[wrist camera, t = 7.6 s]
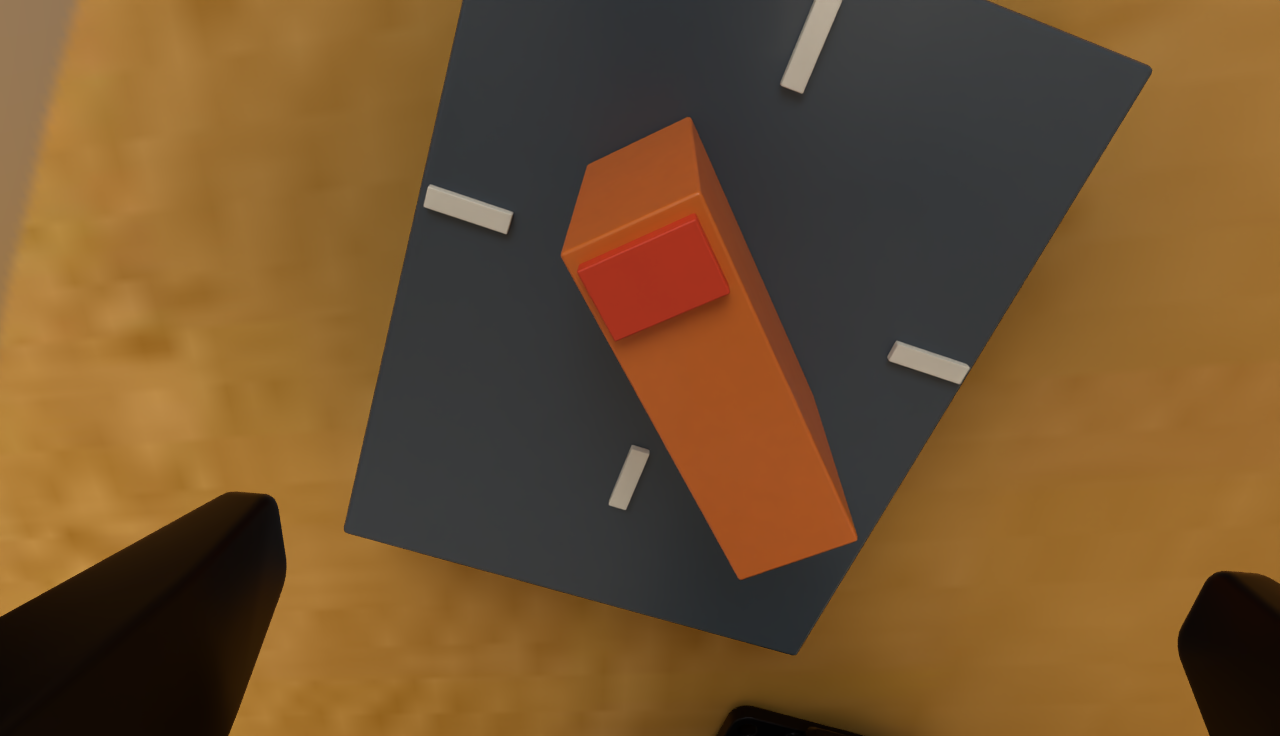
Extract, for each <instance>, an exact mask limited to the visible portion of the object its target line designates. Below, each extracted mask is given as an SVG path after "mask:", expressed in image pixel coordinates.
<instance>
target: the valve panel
mask: <svg viewBox="0 0 1280 736" xmlns="http://www.w3.org/2000/svg"><path fill="white" fill-rule="evenodd" d="M1151 73H1152V69H1151V67H1150V66H1149V65H1146V64H1144V63H1141V62H1139V61H1136V60H1134V59H1131V58H1129V57H1126V56H1124V55H1121V54H1119V53H1117V52H1114V51H1112V50H1109V49H1107V48H1104V47H1102V46H1099V45H1097V44H1094V43H1092V42H1089V41H1087V40H1084V39H1082V38H1079V37H1077V36H1074V35H1072V34H1069V33H1067V32H1064V31H1062V30H1059V29H1057V28H1054V27H1052V26H1049V25H1047V24H1044V23H1042V22H1039V21H1037V20H1034V19H1032V18H1030V17H1027V16H1025V15H1022V14H1020V13H1017V12H1015V11H1012V10H1010V9H1007V8H1005V7H1002V6H1000V5H997V4H995V3H992V2H990V1H987V0H463V1H462V6H461V10H460V15H459V19H458V23H457V28H456V32H455V37H454V41H453V46H452V50H451V55H450V59H449V63H448V68H447V72H446V77H445V81H444V86H443V90H442V94H441V99H440V103H439V108H438V112H437V117H436V121H435V126H434V130H433V134H432V139H431V143H430V148H429V152H428V157H427V161H426V165H425V170H424V174H423V179H422V183H421V188H420V192H419V197H418V201H417V205H416V210H415V214H414V219H413V223H412V228H411V232H410V236H409V241H408V245H407V250H406V254H405V259H404V263H403V268H402V272H401V276H400V281H399V285H398V290H397V294H396V299H395V303H394V307H393V312H392V316H391V321H390V325H389V330H388V334H387V339H386V343H385V347H384V352H383V356H382V361H381V365H380V370H379V374H378V378H377V383H376V387H375V392H374V396H373V401H372V405H371V410H370V414H369V418H368V423H367V427H366V432H365V436H364V441H363V445H362V449H361V454H360V458H359V463H358V467H357V472H356V476H355V481H354V485H353V489H352V494H351V498H350V503H349V507H348V512H347V516H346V521H345V525H344V531H345V532H346V533H349V534H352V535H356V536H360V537H363V538H367V539H370V540H374V541H378V542H381V543H385V544H389V545H392V546H396V547H400V548H403V549H407V550H411V551H414V552H418V553H422V554H425V555H429V556H433V557H436V558H440V559H443V560H447V561H451V562H454V563H458V564H462V565H465V566H469V567H473V568H476V569H480V570H484V571H487V572H491V573H495V574H498V575H502V576H505V577H509V578H513V579H516V580H520V581H524V582H527V583H531V584H535V585H538V586H542V587H546V588H549V589H553V590H557V591H560V592H564V593H567V594H571V595H575V596H578V597H582V598H586V599H589V600H593V601H597V602H600V603H604V604H608V605H611V606H615V607H619V608H622V609H626V610H630V611H633V612H637V613H640V614H644V615H648V616H651V617H655V618H659V619H662V620H666V621H670V622H673V623H677V624H681V625H684V626H688V627H692V628H695V629H699V630H702V631H706V632H710V633H713V634H717V635H721V636H724V637H728V638H732V639H735V640H739V641H743V642H746V643H750V644H754V645H757V646H761V647H764V648H768V649H772V650H775V651H779V652H783V653H786V654H790V655H796V654H797V653H798V651H799V650H800V648H801V646H802V645H803V643H804V642H805V640H806V638H807V637H808V635H809V633H810V632H811V630H812V628H813V627H814V625H815V624H816V622H817V620H818V619H819V617H820V615H821V614H822V612H823V610H824V609H825V607H826V606H827V604H828V602H829V601H830V599H831V597H832V596H833V594H834V592H835V591H836V589H837V588H838V586H839V584H840V583H841V581H842V579H843V578H844V576H845V574H846V573H847V571H848V570H849V568H850V566H851V565H852V563H853V561H854V560H855V558H856V556H857V555H858V553H859V552H860V550H861V548H862V547H863V545H864V543H865V542H866V540H867V538H868V537H869V535H870V533H871V532H872V530H873V529H874V527H875V525H876V524H877V522H878V520H879V519H880V517H881V515H882V514H883V512H884V511H885V509H886V507H887V506H888V504H889V502H890V501H891V499H892V497H893V496H894V494H895V493H896V491H897V489H898V488H899V486H900V484H901V483H902V481H903V479H904V478H905V476H906V475H907V473H908V471H909V470H910V468H911V466H912V465H913V463H914V461H915V460H916V458H917V457H918V455H919V453H920V452H921V450H922V448H923V447H924V445H925V443H926V442H927V440H928V439H929V437H930V435H931V434H932V432H933V430H934V429H935V427H936V425H937V424H938V422H939V421H940V419H941V417H942V416H943V414H944V412H945V411H946V409H947V407H948V406H949V404H950V403H951V401H952V399H953V398H954V396H955V394H956V393H957V391H958V389H959V388H960V386H961V385H962V383H963V381H964V380H965V378H966V376H967V375H968V373H969V371H970V370H971V368H972V366H973V365H974V363H975V362H976V360H977V358H978V357H979V355H980V353H981V352H982V350H983V348H984V347H985V345H986V344H987V342H988V340H989V339H990V337H991V335H992V334H993V332H994V330H995V329H996V327H997V326H998V324H999V322H1000V321H1001V319H1002V317H1003V316H1004V314H1005V312H1006V311H1007V309H1008V308H1009V306H1010V304H1011V303H1012V301H1013V299H1014V298H1015V296H1016V294H1017V293H1018V291H1019V290H1020V288H1021V286H1022V285H1023V283H1024V281H1025V280H1026V278H1027V276H1028V275H1029V273H1030V272H1031V270H1032V268H1033V267H1034V265H1035V263H1036V262H1037V260H1038V258H1039V257H1040V255H1041V254H1042V252H1043V250H1044V249H1045V247H1046V245H1047V244H1048V242H1049V240H1050V239H1051V237H1052V236H1053V234H1054V232H1055V231H1056V229H1057V227H1058V226H1059V224H1060V222H1061V221H1062V219H1063V218H1064V216H1065V214H1066V213H1067V211H1068V209H1069V208H1070V206H1071V204H1072V203H1073V201H1074V199H1075V198H1076V196H1077V195H1078V193H1079V191H1080V190H1081V188H1082V186H1083V185H1084V183H1085V181H1086V180H1087V178H1088V177H1089V175H1090V173H1091V172H1092V170H1093V168H1094V167H1095V165H1096V163H1097V162H1098V160H1099V159H1100V157H1101V155H1102V154H1103V152H1104V150H1105V149H1106V147H1107V145H1108V144H1109V142H1110V141H1111V139H1112V137H1113V136H1114V134H1115V132H1116V131H1117V129H1118V127H1119V126H1120V124H1121V123H1122V121H1123V119H1124V118H1125V116H1126V114H1127V113H1128V111H1129V109H1130V108H1131V106H1132V105H1133V103H1134V101H1135V100H1136V98H1137V96H1138V95H1139V93H1140V91H1141V90H1142V88H1143V87H1144V85H1145V83H1146V82H1147V80H1148V78H1149V77H1150V75H1151ZM686 117H690V118H691V119H692V121H693V123H694V125H695V128H696V130H697V132H698V134H699V137H700V139H701V141H702V144H703V146H704V148H705V150H706V153H707V155H708V157H709V160H710V162H711V164H712V166H713V169H714V171H715V173H716V175H717V178H718V180H719V182H720V185H721V187H722V189H723V191H724V194H725V196H726V198H727V200H728V203H729V205H730V207H731V210H732V212H733V214H734V216H735V219H736V221H737V223H738V225H739V228H740V230H741V232H742V235H743V237H744V239H745V241H746V244H747V246H748V248H749V250H750V253H751V255H752V257H753V260H754V262H755V264H756V266H757V269H758V271H759V273H760V275H761V278H762V280H763V282H764V285H765V287H766V289H767V291H768V294H769V296H770V298H771V300H772V303H773V305H774V307H775V310H776V312H777V314H778V316H779V319H780V321H781V323H782V325H783V328H784V330H785V332H786V335H787V337H788V339H789V341H790V344H791V346H792V348H793V350H794V353H795V355H796V357H797V360H798V362H799V364H800V366H801V369H802V371H803V373H804V376H805V378H806V380H807V382H808V385H809V387H810V389H811V391H812V394H813V396H814V399H815V402H816V406H817V409H818V412H819V415H820V418H821V422H822V425H823V428H824V431H825V434H826V438H827V441H828V444H829V447H830V450H831V453H832V457H833V460H834V463H835V466H836V469H837V473H838V476H839V479H840V482H841V485H842V489H843V492H844V495H845V498H846V501H847V505H848V508H849V511H850V514H851V517H852V521H853V524H854V527H855V530H856V533H857V536H858V537H857V541H855V542H853V543H850V544H847V545H844V546H841V547H838V548H835V549H832V550H829V551H826V552H823V553H820V554H817V555H814V556H811V557H808V558H805V559H802V560H799V561H796V562H793V563H791V564H788V565H785V566H782V567H779V568H776V569H773V570H770V571H767V572H764V573H761V574H758V575H755V576H752V577H749V578H746V579H743V580H740V579H738V577H737V576H736V574H735V572H734V570H733V568H732V566H731V565H730V563H729V561H728V559H727V557H726V556H725V554H724V552H723V550H722V548H721V546H720V545H719V543H718V541H717V539H716V537H715V536H714V534H713V532H712V530H711V528H710V527H709V525H708V523H707V521H706V519H705V517H704V516H703V514H702V512H701V510H700V508H699V507H698V505H697V503H696V501H695V499H694V498H693V496H692V494H691V492H690V490H689V488H688V487H687V485H686V483H685V481H684V479H683V478H682V476H681V474H680V472H679V470H678V468H677V467H676V465H675V463H674V461H673V459H672V458H671V456H670V454H669V452H668V450H667V449H666V447H665V445H664V443H663V441H662V439H661V438H660V436H659V434H658V432H657V430H656V429H655V427H654V425H653V423H652V421H651V420H650V418H649V416H648V414H647V412H646V410H645V409H644V407H643V405H642V403H641V401H640V400H639V398H638V396H637V394H636V392H635V390H634V389H633V387H632V385H631V383H630V381H629V380H628V378H627V376H626V374H625V372H624V371H623V369H622V367H621V365H620V363H619V361H618V360H617V358H616V356H615V354H614V352H613V351H612V349H611V347H610V345H609V343H608V341H607V340H606V338H605V336H604V334H603V332H602V331H601V329H600V327H599V325H598V323H597V322H596V320H595V318H594V316H593V314H592V312H591V311H590V309H589V307H588V305H587V303H586V302H585V300H584V298H583V296H582V294H581V293H580V291H579V289H578V287H577V285H576V283H575V282H574V280H573V278H572V276H571V274H570V273H569V271H568V269H567V267H566V265H565V263H564V262H563V260H562V258H561V251H562V248H563V245H564V241H565V238H566V234H567V231H568V228H569V224H570V221H571V218H572V214H573V211H574V208H575V204H576V201H577V198H578V194H579V191H580V188H581V184H582V181H583V178H584V174H585V171H586V168H587V165H588V164H590V163H592V162H594V161H596V160H598V159H601V158H603V157H605V156H607V155H609V154H611V153H613V152H615V151H617V150H619V149H621V148H624V147H626V146H628V145H630V144H632V143H634V142H636V141H638V140H640V139H642V138H645V137H647V136H649V135H651V134H653V133H655V132H657V131H659V130H661V129H663V128H665V127H668V126H670V125H672V124H674V123H676V122H678V121H680V120H682V119H684V118H686Z"/></svg>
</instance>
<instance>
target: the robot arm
mask: <svg viewBox="0 0 1280 736" xmlns="http://www.w3.org/2000/svg"><path fill="white" fill-rule="evenodd" d="M285 577H286V555H285V548H284V542H283V535H282V529H281V522H280V516H279V509H278V506H277V503H276V501H275V499H274V498H273V497H271V496H270V495H267V494H259V493H247V492H228V493H225V494H223V495H221V496H219V497H217V498H215V499H213V500H211V501H210V502H208V503H206V504H204V505H202V506H201V507H199V508H197V509H195V510H193V511H192V512H190V513H188V514H186V515H184V516H182V517H181V518H179V519H177V520H175V521H173V522H172V523H170V524H168V525H166V526H164V527H163V528H161V529H159V530H157V531H155V532H153V533H152V534H150V535H148V536H146V537H144V538H143V539H141V540H139V541H137V542H135V543H134V544H132V545H130V546H128V547H126V548H124V549H123V550H121V551H119V552H117V553H115V554H114V555H112V556H110V557H108V558H106V559H105V560H103V561H101V562H99V563H97V564H96V565H94V566H92V567H90V568H88V569H86V570H85V571H83V572H81V573H79V574H77V575H76V576H74V577H72V578H70V579H68V580H67V581H65V582H63V583H61V584H59V585H57V586H56V587H54V588H52V589H50V590H48V591H47V592H45V593H43V594H41V595H39V596H38V597H36V598H34V599H32V600H30V601H28V602H27V603H25V604H23V605H21V606H19V607H18V608H16V609H14V610H12V611H10V612H9V613H7V614H5V615H3V616H1V617H0V736H228V735H229V733H230V730H231V728H232V725H233V723H234V720H235V718H236V715H237V713H238V710H239V707H240V705H241V702H242V699H243V696H244V693H245V691H246V688H247V685H248V682H249V680H250V677H251V674H252V671H253V669H254V666H255V663H256V660H257V658H258V655H259V652H260V649H261V647H262V644H263V641H264V638H265V635H266V633H267V630H268V627H269V624H270V622H271V619H272V616H273V613H274V611H275V608H276V605H277V602H278V600H279V597H280V594H281V591H282V588H283V585H284V581H285ZM1178 652H1179V657H1180V660H1181V663H1182V665H1183V668H1184V670H1185V673H1186V675H1187V678H1188V681H1189V683H1190V686H1191V688H1192V691H1193V694H1194V696H1195V699H1196V701H1197V704H1198V707H1199V709H1200V712H1201V714H1202V717H1203V720H1204V722H1205V725H1206V727H1207V730H1208V733H1209V735H1210V736H1280V584H1279V583H1278V582H1276V581H1274V580H1272V579H1271V578H1269V577H1267V576H1264V575H1260V574H1255V573H1244V572H1232V571H1220V572H1216V573H1214V574H1213V575H1212V576H1210V577H1209V578H1208V579H1207V580H1206V582H1205V583H1204V585H1203V587H1202V589H1201V591H1200V593H1199V595H1198V597H1197V598H1196V600H1195V602H1194V604H1193V606H1192V608H1191V610H1190V612H1189V614H1188V615H1187V617H1186V619H1185V621H1184V623H1183V625H1182V627H1181V629H1180V631H1179V636H1178ZM717 736H863V735H859V734H856V733H852V732H848V731H844V730H840V729H837V728H833V727H829V726H825V725H821V724H818V723H814V722H810V721H806V720H802V719H799V718H795V717H791V716H787V715H783V714H780V713H776V712H772V711H768V710H764V709H761V708H757V707H753V706H741V707H738V708H735V709H733V710H732V711H731V712H730V713H729V715H728V717H727V718H726V720H725V722H724V724H723V725H722V727H721V729H720V730H719V732H718V734H717Z"/></svg>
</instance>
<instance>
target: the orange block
mask: <svg viewBox="0 0 1280 736" xmlns="http://www.w3.org/2000/svg"><path fill="white" fill-rule="evenodd" d="M561 258H562V260H563V262H564V263H565V265H566V267H567V269H568V271H569V273H570V274H571V276H572V278H573V280H574V282H575V283H576V285H577V287H578V289H579V291H580V293H581V294H582V296H583V298H584V300H585V302H586V303H587V305H588V307H589V309H590V311H591V312H592V314H593V316H594V318H595V320H596V322H597V323H598V325H599V327H600V329H601V331H602V332H603V334H604V336H605V338H606V340H607V341H608V343H609V345H610V347H611V349H612V351H613V352H614V354H615V356H616V358H617V360H618V361H619V363H620V365H621V367H622V369H623V371H624V372H625V374H626V376H627V378H628V380H629V381H630V383H631V385H632V387H633V389H634V390H635V392H636V394H637V396H638V398H639V400H640V401H641V403H642V405H643V407H644V409H645V410H646V412H647V414H648V416H649V418H650V420H651V421H652V423H653V425H654V427H655V429H656V430H657V432H658V434H659V436H660V438H661V439H662V441H663V443H664V445H665V447H666V449H667V450H668V452H669V454H670V456H671V458H672V459H673V461H674V463H675V465H676V467H677V468H678V470H679V472H680V474H681V476H682V478H683V479H684V481H685V483H686V485H687V487H688V488H689V490H690V492H691V494H692V496H693V498H694V499H695V501H696V503H697V505H698V507H699V508H700V510H701V512H702V514H703V516H704V517H705V519H706V521H707V523H708V525H709V527H710V528H711V530H712V532H713V534H714V536H715V537H716V539H717V541H718V543H719V545H720V546H721V548H722V550H723V552H724V554H725V556H726V557H727V559H728V561H729V563H730V565H731V566H732V568H733V570H734V572H735V574H736V576H737V577H738V579H740V580H743V579H746V578H749V577H752V576H755V575H758V574H761V573H764V572H767V571H770V570H773V569H776V568H779V567H782V566H785V565H788V564H791V563H793V562H796V561H799V560H802V559H805V558H808V557H811V556H814V555H817V554H820V553H823V552H826V551H829V550H832V549H835V548H838V547H841V546H844V545H847V544H850V543H853V542H855V541H857V537H858V536H857V533H856V530H855V527H854V524H853V521H852V517H851V514H850V511H849V508H848V505H847V501H846V498H845V495H844V492H843V489H842V485H841V482H840V479H839V476H838V473H837V469H836V466H835V463H834V460H833V457H832V453H831V450H830V447H829V444H828V441H827V438H826V434H825V431H824V428H823V425H822V422H821V418H820V415H819V412H818V409H817V406H816V402H815V399H814V396H813V394H812V391H811V389H810V387H809V385H808V382H807V380H806V378H805V376H804V373H803V371H802V369H801V366H800V364H799V362H798V360H797V357H796V355H795V353H794V350H793V348H792V346H791V344H790V341H789V339H788V337H787V335H786V332H785V330H784V328H783V325H782V323H781V321H780V319H779V316H778V314H777V312H776V310H775V307H774V305H773V303H772V300H771V298H770V296H769V294H768V291H767V289H766V287H765V285H764V282H763V280H762V278H761V275H760V273H759V271H758V269H757V266H756V264H755V262H754V260H753V257H752V255H751V253H750V250H749V248H748V246H747V244H746V241H745V239H744V237H743V235H742V232H741V230H740V228H739V225H738V223H737V221H736V219H735V216H734V214H733V212H732V210H731V207H730V205H729V203H728V200H727V198H726V196H725V194H724V191H723V189H722V187H721V185H720V182H719V180H718V178H717V175H716V173H715V171H714V169H713V166H712V164H711V162H710V160H709V157H708V155H707V153H706V150H705V148H704V146H703V144H702V141H701V139H700V137H699V134H698V132H697V130H696V128H695V125H694V123H693V121H692V119H691V118H690V117H686V118H684V119H682V120H680V121H678V122H676V123H674V124H672V125H670V126H668V127H665V128H663V129H661V130H659V131H657V132H655V133H653V134H651V135H649V136H647V137H645V138H642V139H640V140H638V141H636V142H634V143H632V144H630V145H628V146H626V147H624V148H621V149H619V150H617V151H615V152H613V153H611V154H609V155H607V156H605V157H603V158H601V159H598V160H596V161H594V162H592V163H590V164H588V165H587V168H586V171H585V174H584V178H583V181H582V184H581V188H580V191H579V194H578V198H577V201H576V204H575V208H574V211H573V214H572V218H571V221H570V224H569V228H568V231H567V234H566V238H565V241H564V245H563V248H562V251H561Z"/></svg>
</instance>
